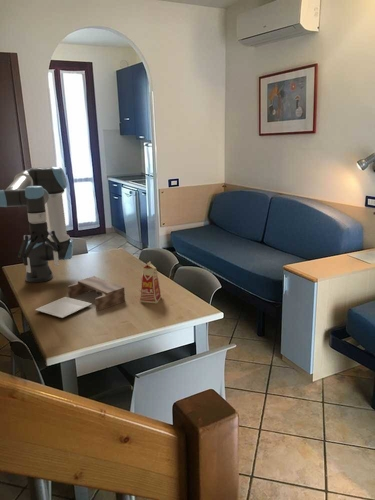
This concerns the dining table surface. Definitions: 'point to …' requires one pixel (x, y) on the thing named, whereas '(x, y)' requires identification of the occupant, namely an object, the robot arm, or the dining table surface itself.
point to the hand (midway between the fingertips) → (43, 268)
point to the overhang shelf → (99, 291)
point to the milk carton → (150, 285)
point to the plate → (63, 307)
